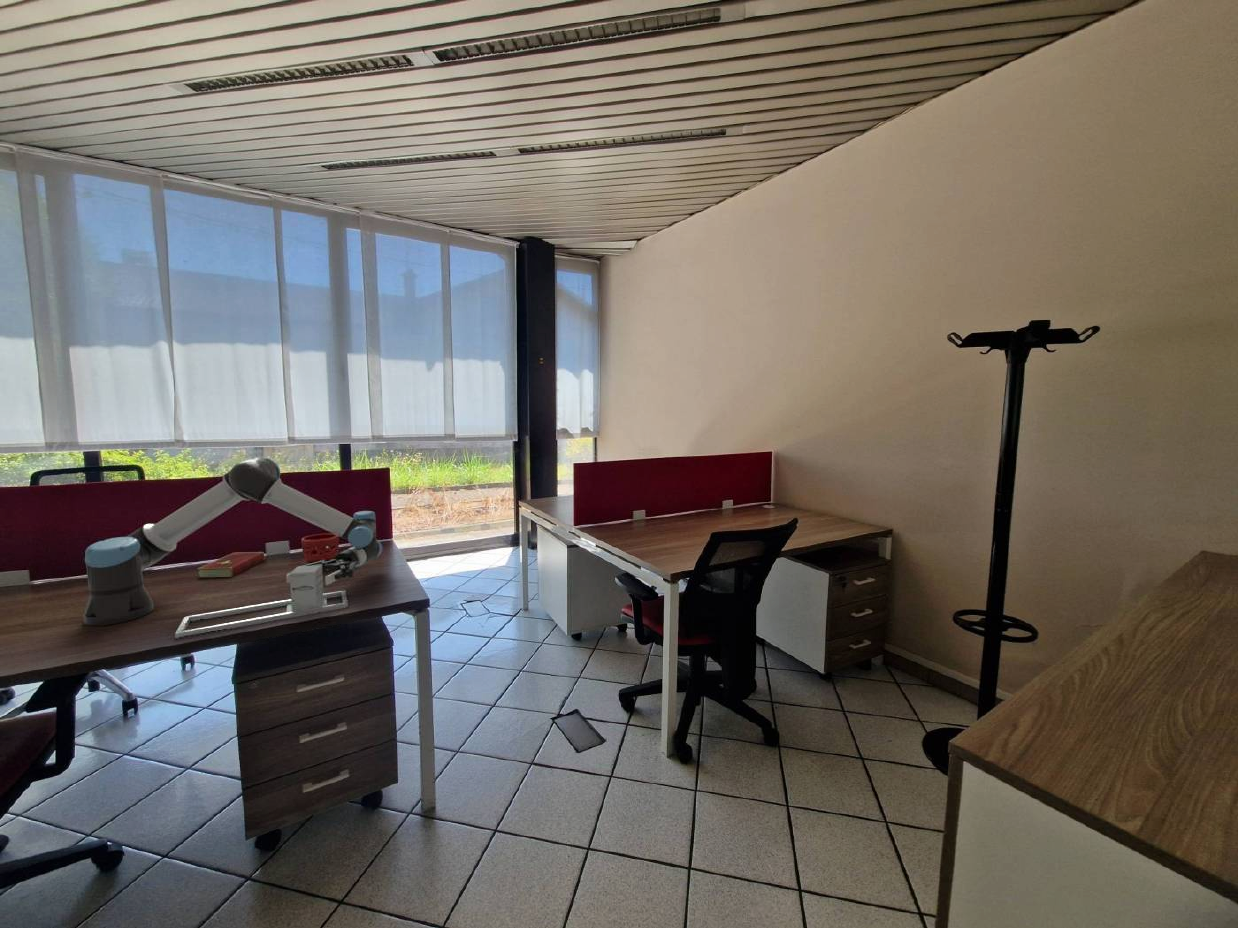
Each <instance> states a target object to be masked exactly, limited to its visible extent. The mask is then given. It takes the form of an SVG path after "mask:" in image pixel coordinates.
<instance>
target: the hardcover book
mask: <svg viewBox="0 0 1238 928" xmlns="http://www.w3.org/2000/svg"><path fill="white" fill-rule="evenodd" d="M265 557H266V555H265V553H264V552H263V551H257V552H256V551H253V552H251V551H249V552H245V551H244V552H242V551H241V552H232V553H230V554H227V555H225V556H223V557H220V558H218V559H216V560H214V561H212V562H209V563H207V564H205V565H202V566H200V567H198V568H197V569H196V571H198V575H199V578H226V577H227V578H233V577H234V576H237V575H239V574H240V573H241V572H244V571H246V570H247V569H250V568H252V567H254V566H256V565H257V564H259V563H261V562H263V561H265ZM251 566H252V567H251ZM249 567H250V568H249Z"/></svg>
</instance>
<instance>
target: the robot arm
mask: <svg viewBox="0 0 1238 928" xmlns="http://www.w3.org/2000/svg"><path fill="white" fill-rule="evenodd" d="M251 500H253V501H256V502H258V503H259V504H262V505H263V504H269V505H272V506H274V507H276V508H278V509H280V510H282V511H284V512H286V513H289V514H291V515H292V516H295V517H297V518H300V519H301V520H304V521H306V522H307V523H310V524H312V525H314V526H317V528H321V529H322V530H325V531H327V532H329V533H330V534H335V535H338V536H339V538H341V539H344V540H346V541H348V543H349V544H350V546H352V547H349V548H348V549H345V550H343V551H341V552H339V553H338V552H337V555H336V556H335V558H334V559H333V560H330V561H326V562H325V560H321V561H318V562H314V563H310V564H306V565H305V564H303V565H299V566H296V567H295V568H297V567H301V566H319V565H322V573H328V572H332V573H330V574H328V575H325V576H324V578H325V586H329V585H330V584H333V583H335V582H336V581H338V580H340V579H342V578H347V577H348V578H352V577H353V576H354V574H355V573H356V570H359V567H360V566H364V564H366V563H368V562H370V561H373V560H375V559H377V558H378V557H380V556H381V554H382V553H383V549H384V548H383V544H382V543H381V541H379V540H378V539H377V523H376V521H377V519H376V513H375V511H372V510H371V511H370V510H362V511H357V512H354V513H353V516H352V517H351V516H349V515H347V514H346V513H343V512H341V511H339V510H337V509H335V508H334V507H331V506H329V505H327V504H326V503H324V502H322V501H319V500H317V499H315V498H313V497H310V495H307V494H304V492H301V491H300V490H298V489H295V488H294V487H291V486H289V485H286V484H284V483H283V481H282V479H281V469H280V466H279V465H278V464H277V462H276V461H274V460H273V459H271V458H269V457H264V456H254V457H251V458H249V459H246V460H243V461H240V462H238V463H236V464H235V465H234V466H233V467H231V469H230V471H228V472H225V474H223V477H222V481H221V482H219V483H218V484H216V485H215V486H213V487H212V488H210V489H208V490H206V491H205V492H203V493H201V494H200V495H199V496H197V497H196V498H194V499H193V500H191V501H190V502H188V503H186V504H185V505H184V506H181V507H180V508H178V509H177V510H176V511H174V512H172V513H171V514H169V515H168V516H166V517H164V518H162V519H161V520H160V521H158V522H157V523H146V524H144V525H143V526H141V527H140V528H138V529H136V530H135V531H133V532H132V533H130V534H128V535H126V536H120V537H111V538H106V539H105V540H100V541H97V542H94V543H92V544H90V545H89V546H87V548H86V549H85V550H84V551H85V556H84V563H85V566H86V576H87V585H88V591H89V598H88V601H87V604H86V608H85V611H84V614H83V623H84V625H87V626H93V627H97V626H98V627H99V626H100V627H101V626H108V625H116V624H120V623H125V622H128V621H132V620H136V619H139V618H141V617H144V616H146V615H148V614H150V613H151V612H153V611H154V602H153V599H152V598H151V597H150V595H149V593H148V592H147V589H146V588H145V586H144V577H143V571H144V570H145V569H147V568H149V567H151V566H152V565H155V564H157V563H158V562H160V561H162V559H163V558H164V557H166V556H168V555H170V554H171V553H172V552H173V551H175V550H176V548H177V543H179V542H180V541H182V540H184V539H185V538H186V537H188V536H189V535H192V534H193V533H194V532H196V531H197V530H198V529H201V527H203V526H205V525H206V524H208V523H209V522H211V521H212V520H214V519H215V518H217V517H218V516H220V515H221V514H223V513H224V512H226V511H228V510H229V509H230V508H233V506H235V505H237V504H239V503H240V502H241V501H251ZM290 573H291V572H289V573H286V575H285V576H286V583H287V584H290Z"/></svg>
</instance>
